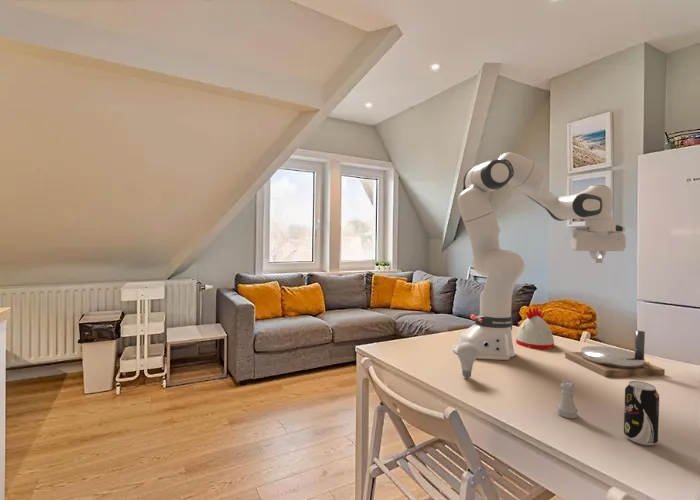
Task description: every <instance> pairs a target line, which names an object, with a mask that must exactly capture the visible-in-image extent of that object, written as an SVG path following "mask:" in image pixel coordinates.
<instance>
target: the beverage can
mask: <svg viewBox="0 0 700 500" xmlns="http://www.w3.org/2000/svg"><path fill="white" fill-rule="evenodd" d="M623 411H624V414H623V416H624V417H623V435H624V436H625V437H626V438H628V439H629V440H630V441H631V442H633V443H636V444H639V445H642V446H646V447H647V446H648V447H649V446H653V445H657V444H658V442H659V419H660V394H659V393H658V391H657V388H656V386H655V385H654V384H651V383H648V382H646V381H645V382H644V381H638V380H630V381H628V385H626V387H625V389H624V410H623Z"/></svg>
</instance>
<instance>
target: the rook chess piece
mask: <svg viewBox="0 0 700 500" xmlns="http://www.w3.org/2000/svg"><path fill="white" fill-rule="evenodd" d="M559 385H560V387H561V391H560V392H561V398H560V402H559V404H557V407H556V409H557V410H556V412H557V414H558V415H559V416H561V417H562V418H566V419H568V420H569V419H572V420H573V419H576V418H577V417H578V416H579V415H578V412H579V411H578V408H576V405H575V402H574V401H575V400H574V395H575V392H574V391H575V390H576V386H575V384H574V382H573V381H569V380H561V383H560V384H559Z"/></svg>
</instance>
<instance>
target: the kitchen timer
mask: <svg viewBox="0 0 700 500" xmlns="http://www.w3.org/2000/svg"><path fill="white" fill-rule="evenodd" d="M525 313H526V317H527V318H525V319H524V321H522V323H521V324H520V325H519V326H518V331H517V333H516V338H515V341H516V345H519V346H521V347H524V348H529V349H534V350H535V349H536V350H552V349H553V348H554V347H555V339H554V336H553V333H552V329H551V328H550V326H549V324H548V323H547V322H546V321H545V320H544V316H545V313H544V312H543V313H542V310H539V308H538V307H536V308H534V307H533V308H529V309H528V311H525Z"/></svg>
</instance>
